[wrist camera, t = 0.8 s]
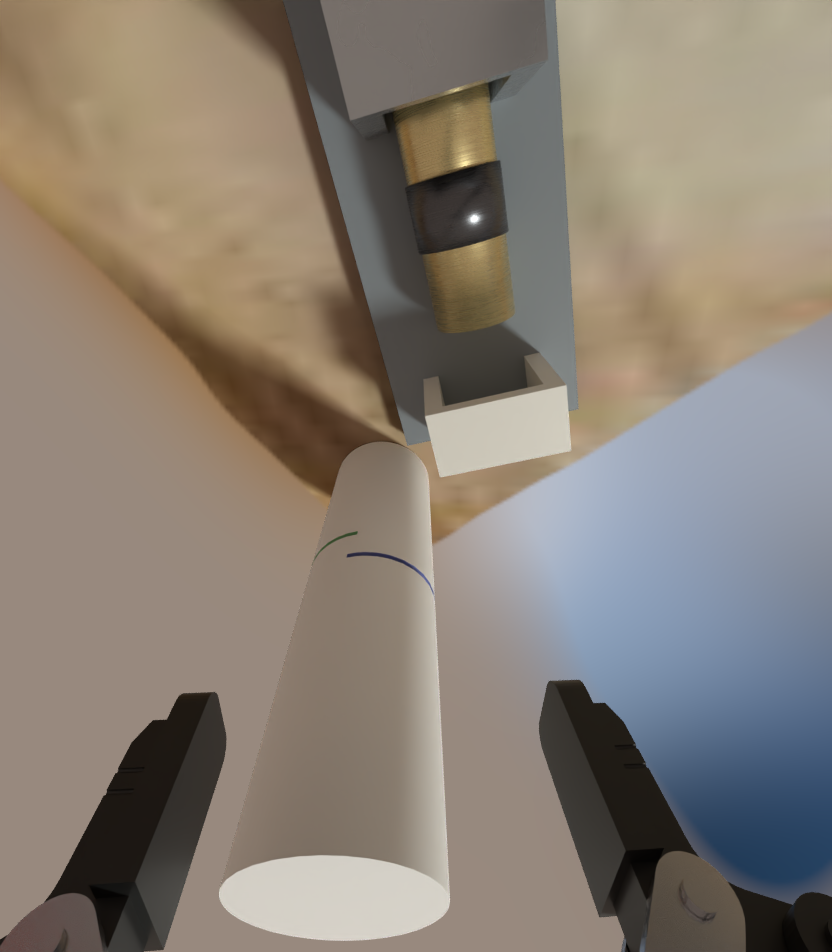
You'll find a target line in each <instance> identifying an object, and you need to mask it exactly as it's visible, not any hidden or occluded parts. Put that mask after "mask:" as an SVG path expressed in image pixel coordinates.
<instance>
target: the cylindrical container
mask: <svg viewBox="0 0 832 952" xmlns="http://www.w3.org/2000/svg"><path fill="white" fill-rule="evenodd" d="M432 557H433V556H432V536H431V517H430V497H429V480H428V473H427V470H426V467H425V466H424V464H423V462H422V461H421V459H420V458H419V457H418V456H417V455H416V454H415V453H414V452H412V451H411V450H409V449H408V448H406V447H404V446H401V445H399V444H395V443H391V442H372V443H368V444H365V445H362V446H360V447H358V448H356V449H355V450H353V451H352V452H351V453H350V454H348V456H347V457H346V458H345V459H344V461H343V462H342V464H341V467H340V469H339V472H338V476H337V479H336V483H335V486H334V490H333V493H332V497H331V500H330V504H329V507H328V511H327V514H326V518H325V521H324V525H323V528H322V532H321V535H320V539H319V542H318V546H317V550H316V553H315V556H314V560H313V564H312V567H311V570H310V574H309V578H308V581H307V585H306V588H305V591H304V595H303V598H302V602H301V605H300V609H299V612H298V616H297V619H296V623H295V627H294V630H293V634H292V637H291V640H290V644H289V648H288V651H287V655H286V658H285V662H284V665H283V669H282V672H281V676H280V679H279V683H278V686H277V690H276V693H275V697H274V700H273V704H272V707H271V711H270V714H269V718H268V721H267V725H266V729H265V732H264V735H263V739H262V742H261V746H260V749H259V753H258V756H257V760H256V763H255V767H254V770H253V774H252V777H251V781H250V784H249V788H248V792H247V795H246V798H245V802H244V805H243V809H242V812H241V816H240V819H239V823H238V826H237V830H236V833H235V837H234V840H233V844H232V847H231V851H230V854H229V858H228V862H227V865H226V868H225V872H224V875H223V879H222V883H221V886H220V891H219V899H220V901H221V903H222V905H223V906H224V907H225V909H227V911H228V912H229V913H231V914H232V915H234V916H235V917H237V918H238V919H240V920H242V921H244V922H246V923H248V924H251V925H253V926H256V927H258V928H261V929H264V930H268V931H271V932H275V933H279V934H284V935H289V936H294V937H301V938H308V939H319V940H339V941H341V940H342V941H343V940H344V941H351V940H369V939H379V938H386V937H392V936H396V935H402V934H406V933H409V932H413V931H416V930H419V929H421V928H424V927H426V926H428V925H430V924H432V923H434V922H435V921H437V920H438V919H440V918H441V917H442V916H443V915H444V914H445V912H446V911H447V910H448V908H449V904H450V892H449V872H448V854H447V853H448V852H447V833H446V813H445V794H444V773H443V755H442V754H443V753H442V734H441V715H440V697H439V696H440V694H439V676H438V675H439V674H438V655H437V635H436V615H435V596H434V576H433V558H432Z"/></svg>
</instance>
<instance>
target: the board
mask: <svg viewBox="0 0 832 952" xmlns="http://www.w3.org/2000/svg"><path fill="white" fill-rule="evenodd" d="M283 3H284V6H285V10H286V14H287V17H288V21H289V24H290V28H291V31H292V35H293V39H294V42H295V46H296V49H297V53H298V56H299V60H300V64H301V67H302V71H303V74H304V78H305V81H306V85H307V89H308V92H309V96H310V99H311V103H312V106H313V110H314V114H315V117H316V121H317V124H318V128H319V131H320V135H321V139H322V142H323V146H324V149H325V153H326V156H327V160H328V164H329V167H330V171H331V174H332V178H333V181H334V185H335V189H336V192H337V196H338V199H339V203H340V206H341V210H342V213H343V217H344V221H345V224H346V228H347V231H348V235H349V238H350V242H351V246H352V249H353V253H354V256H355V260H356V263H357V267H358V271H359V274H360V278H361V281H362V285H363V288H364V292H365V296H366V299H367V303H368V306H369V310H370V313H371V317H372V321H373V324H374V328H375V331H376V335H377V338H378V342H379V346H380V349H381V353H382V356H383V360H384V363H385V367H386V371H387V374H388V378H389V381H390V385H391V388H392V392H393V396H394V399H395V403H396V406H397V410H398V413H399V417H400V421H401V424H402V428H403V431H404V435H405V438H406V442H407V445H413V444H417V443H422V442H427V441H431V439H430V435H429V431H428V427H427V423H426V419H425V406H424V382H423V379H427V378H431V377H436V376H438V377H439V381H440V386H441V391H442V395H443V400H444V404H445V406H447V405H452V404H456V403H461V402H465V401H470V400H474V399H479V398H483V397H488V396H492V395H497V394H501V393H506V392H510V391H515V390H519V389H524V388H528V387H527V378H526V370H525V361H524V356H527V355H531V354H535V353H540V354H541V355H542V356H543V357H544V358H545V360H546V361H547V362H548V363H549V364H550V366H551V367H552V368H553V369H554V370H555V372H556V373H557V374H558V375H559V377H560V378H561V379H562V380H563V381H564V383H565V384H566V385H567V399H568V411H572V410H576V409H578V394H577V376H576V358H575V341H574V323H573V305H572V287H571V270H570V252H569V234H568V217H567V199H566V181H565V164H564V146H563V128H562V111H561V93H560V75H559V58H558V40H557V22H556V4H555V0H545V16H546V31H547V46H548V60H547V61H546V62H545V64H544V65H543V66H542V67H541V68H540V69H539V70H538V71H537V72H536V73H535V74H534V76H533V77H532V78H531V79H530V80H529V81H528V82H527V83H526V84H525V85H524V86H523V87H522V89H521V90H520V91H519V92H518V93H517V94H516V95H515V96H513V97H510V98H506V99H503V100H500V101H496V102H493V103H490V104H491V112H492V121H493V129H494V137H495V146H496V154H497V161H498V160H501V168H502V177H503V185H504V194H505V203H506V211H507V220H508V228H509V231H508V232H507V233H506V237H507V246H508V254H509V262H510V271H511V279H512V287H513V296H514V304H515V314H514V315H513V316H512V317H511V318H509V319H508V320H506V321H504V322H501V323H499V324H496V325H493V326H490V327H487V328H483V329H479V330H474V331H469V332H462V333H443V332H440V331H438V329H437V324H436V319H435V315H434V310H433V305H432V300H431V296H430V291H429V286H428V281H427V277H426V272H425V267H424V262H423V257H422V255H420V254H419V252H418V248H417V243H416V238H415V234H414V229H413V224H412V220H411V215H410V210H409V205H408V201H407V196H406V191H405V187H408V186H407V181H406V176H405V172H404V167H403V162H402V157H401V153H400V148H399V143H398V138H397V134H396V129H395V124H394V119H393V114H392V112H389V113H386V114H385V118H386V123H387V127H388V132H389V134H387V135H384V136H380V137H377V138H374V139H370V140H367V141H366V140H365V138H364V137H363V136H362V135H361V133H360V132H359V131H358V130H357V128H356V127H355V126H354V125H353V123H352V122H351V121H350V118H349V114H348V110H347V106H346V102H345V98H344V94H343V90H342V86H341V82H340V78H339V74H338V70H337V66H336V62H335V58H334V54H333V50H332V46H331V42H330V38H329V34H328V30H327V26H326V22H325V18H324V14H323V10H322V6H321V2H320V0H283Z"/></svg>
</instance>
